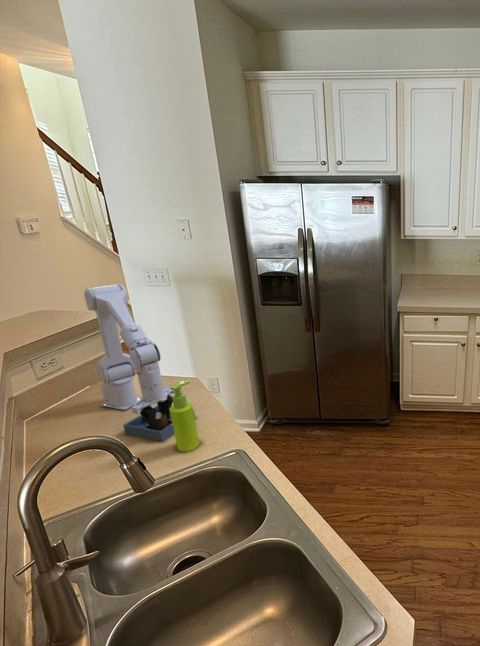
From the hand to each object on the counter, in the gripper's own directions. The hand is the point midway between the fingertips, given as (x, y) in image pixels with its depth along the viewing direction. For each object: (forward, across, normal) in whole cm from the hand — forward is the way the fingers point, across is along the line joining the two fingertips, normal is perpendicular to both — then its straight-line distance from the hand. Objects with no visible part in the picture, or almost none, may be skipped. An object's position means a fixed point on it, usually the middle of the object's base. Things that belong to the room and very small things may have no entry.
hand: (159, 423), depth 132 cm
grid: (+4, +3, +3) cm, 6 cm away
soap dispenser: (+4, -3, -13) cm, 14 cm away
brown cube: (+1, 0, 0) cm, 1 cm away
